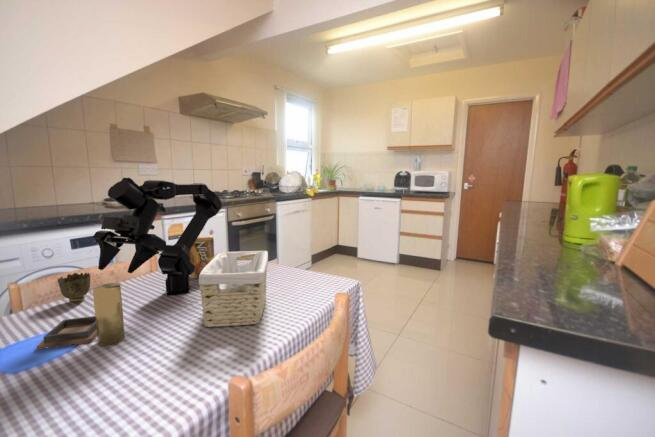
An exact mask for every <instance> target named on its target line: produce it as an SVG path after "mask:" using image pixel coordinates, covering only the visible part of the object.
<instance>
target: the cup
mask: <svg viewBox="0 0 655 437" xmlns="http://www.w3.org/2000/svg"><path fill="white" fill-rule="evenodd" d="M57 283H58V286H59V290H60V293H61V294H62V296H63V297H64V298H66V299H68V303H69V304H76V303H81V302H83V301H84V300H85V298H86V296H85V295H87V294H88V293H89V291H90V288H91V273H89V272H84V273H83V272H81V273H80V274H79V273H78V272H74V273H72V274H70V273H69V274H67V275H66V277H63V276H60V277H59V278H57Z"/></svg>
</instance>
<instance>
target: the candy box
mask: <svg viewBox="0 0 655 437" xmlns="http://www.w3.org/2000/svg"><path fill="white" fill-rule="evenodd" d="M214 257H215V240H214V236H213V235H209V236H208V235H207V236H198V238H197V239H196V241H195V243H194V244H193V246H192V248H191V249H190V262H191V263H192V264H193V265H194V266H195V269H194V272H193V273H192V274H191V275H190V279H199V275H200V273H201V271H202V270H203V268H204V267H205V266H206V265H207V264H208V263H209V262H210V261H211V260H212V259H213V258H214Z"/></svg>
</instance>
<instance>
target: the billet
mask: <svg viewBox="0 0 655 437" xmlns="http://www.w3.org/2000/svg"><path fill="white" fill-rule="evenodd" d="M121 288H122V287H121V283H118V282H112V283H105V284H104V283H103V284H100V285H98V286H95V287H93V288H92V296H93V298H92V299H93V307H94V308H93V309H94V316H95V318H96V328H97V337H96V338H97V345H98V346H100V347H109V346H110V347H111V346H114V345H117V344H119V343H121V342H122V341H124V340H125V338H126V333H125V323H124V322H125V321H124V312H123V311H124V310H123V300H122V289H121Z"/></svg>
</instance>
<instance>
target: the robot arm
mask: <svg viewBox="0 0 655 437" xmlns="http://www.w3.org/2000/svg"><path fill="white" fill-rule="evenodd" d="M186 195H188V196H189V195H192V201H193V203H194V204H195V206H194V209H195V213H194V215H193V216H192V218H191V219H190V221H189V223H188V224H187V225H186V227H185V228H184V230H183V231H182V233H181V234H180V236H179V238H178V239H177V241H176V243H174V244H173V245H172V244H167V241H166V240H164V239H162V238H161V237H160V236H158V235H157V234H155V233H149V232H150V230H151V231H152V230H154V229H155V225H154V224H153V223H154V221H155V219H156V217H157V216H158V213H166V211H167V210H166V207H164V206H165V205H164V203H162V202H158V201H157V200H159V201H162V200H163V201H166V200H170V199H174V198H175V197H177V196H186ZM200 195H202V196H200ZM107 196H108V198H110V199H111V200H113V201H114V202H116V203H117V204H119V205H121V206H122V207H124V208H125V209H126V210H129V211H131V210H132V212H131V213H130V214H123V216H122V217H116V216H114V217H113V216H103V218H102V222H101V228H100V229H101V230H98V231H96V232H95V233H94V235H93V237H92V240H94V241H95V242H94V243H96V244H97V245H98V247H99V261H98V267H97V268H98V270H100V271H104V270H105V268H106V267H108V266H109V265H110V263H111V262H112V261H113V259H114V258H115V257H116V256H117V255H118V254H119V253H120V251H121V247H123V245H134V248H135V252H134V254H133V257H132V258H131V261H130V263H129V265H128V268H127V271H126V272H127V273H129V274H132V273H134V272H135V271H137V269H139V268H140V267H141V266H142V265H144V264H145V263H146V262H147V261H148V260H150V259H153V257H155V255H158V256H159V258H158V260H157V264H158V267H159V270H160V271H161V274H162V275H166V278H165V282H164V283H165V291H166V296H172V295H173V296H175V295H184V294H189V293H190V291H191V289H192V285H191V280H190V279H191V278H190V275H191V274H192V273H193V272H194V269H195V266H194V265H193V264H192V263H191V262H190V249H191V248H192V246H193V244H194V243H195V241H196V239H197V238H198V237H200V234H201V233H202V231H203V230H204V227H205V226H206V224H207V223H208V221H209V220H210V219H211V218H213V217H215V216H217V215H218V214H219V212H220V211H221V209H222V207H223V203H222V200H221V199H220V198H219V196H218V194H217V193H215V192H214V191H213V190H211V189H209V187H208V186H207V184H205V183H201V182H200V183H199V182H198V183H197V182H196V183H195V182H194V183H175V182H173V181H168V180H160V179H159V180H158V179H155V180H154V179H149V180H148V179H147V180H144V182H143V184H141V185H139V184H137V183H136V182H135V181H134V180H133V179H132V178H130V177H122V179H121V180H120V181H117V182H116V183H114V184H113V185H112V186H110V187H109V189H108V191H107ZM111 230H113V231H111ZM160 252H161V253H160Z"/></svg>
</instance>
